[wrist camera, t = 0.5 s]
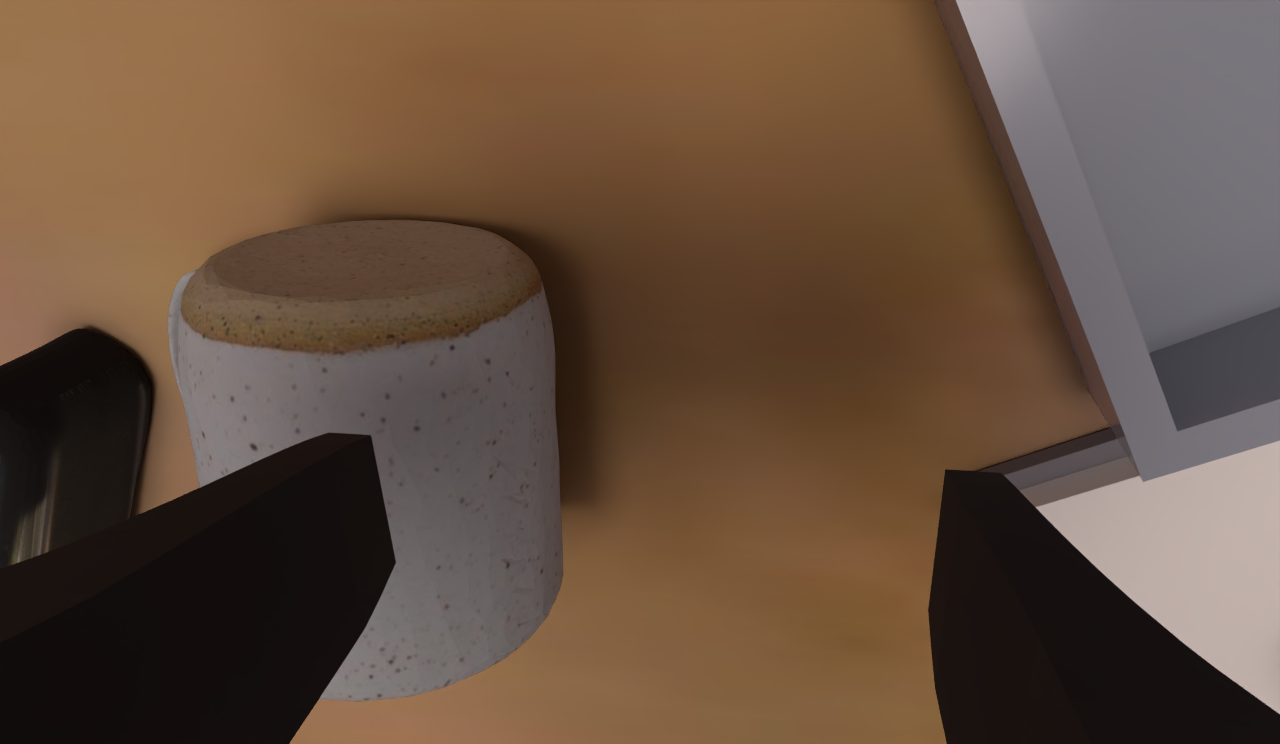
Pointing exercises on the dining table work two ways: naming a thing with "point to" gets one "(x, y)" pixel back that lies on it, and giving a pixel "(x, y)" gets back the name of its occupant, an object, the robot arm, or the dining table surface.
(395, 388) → the ceramic mug
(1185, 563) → the lid
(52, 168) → the dining table surface
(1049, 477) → the mat
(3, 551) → the stapler
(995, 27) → the tray
